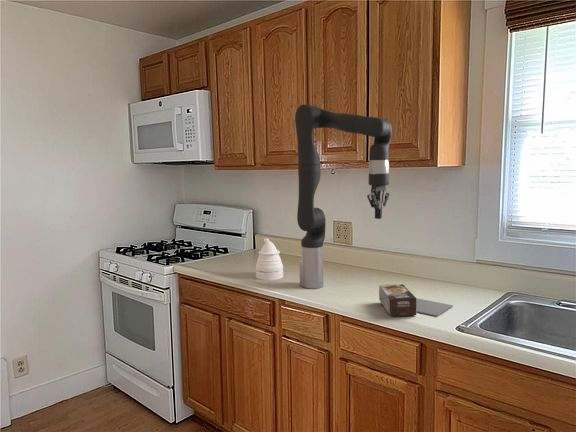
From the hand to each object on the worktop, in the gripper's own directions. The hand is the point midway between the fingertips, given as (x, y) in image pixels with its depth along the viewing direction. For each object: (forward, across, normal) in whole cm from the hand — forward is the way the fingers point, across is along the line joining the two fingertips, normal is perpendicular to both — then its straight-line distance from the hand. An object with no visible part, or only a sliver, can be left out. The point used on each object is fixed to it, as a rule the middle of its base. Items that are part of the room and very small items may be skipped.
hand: (378, 218), depth 167 cm
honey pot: (+31, +1, -56) cm, 64 cm away
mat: (+31, 0, +18) cm, 36 cm away
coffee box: (+27, +2, +7) cm, 28 cm away
